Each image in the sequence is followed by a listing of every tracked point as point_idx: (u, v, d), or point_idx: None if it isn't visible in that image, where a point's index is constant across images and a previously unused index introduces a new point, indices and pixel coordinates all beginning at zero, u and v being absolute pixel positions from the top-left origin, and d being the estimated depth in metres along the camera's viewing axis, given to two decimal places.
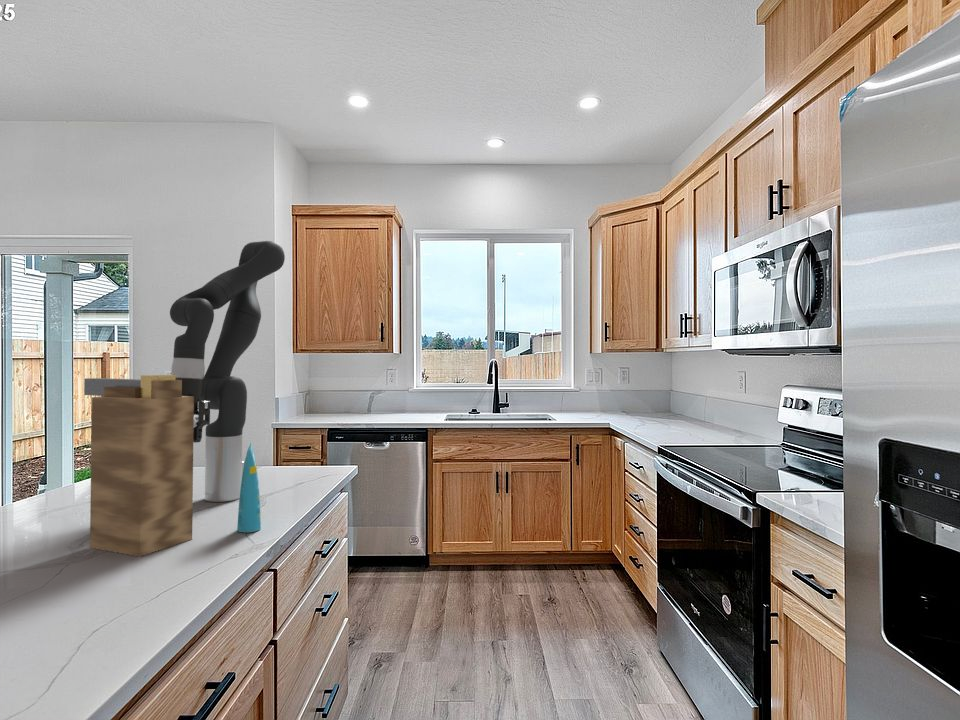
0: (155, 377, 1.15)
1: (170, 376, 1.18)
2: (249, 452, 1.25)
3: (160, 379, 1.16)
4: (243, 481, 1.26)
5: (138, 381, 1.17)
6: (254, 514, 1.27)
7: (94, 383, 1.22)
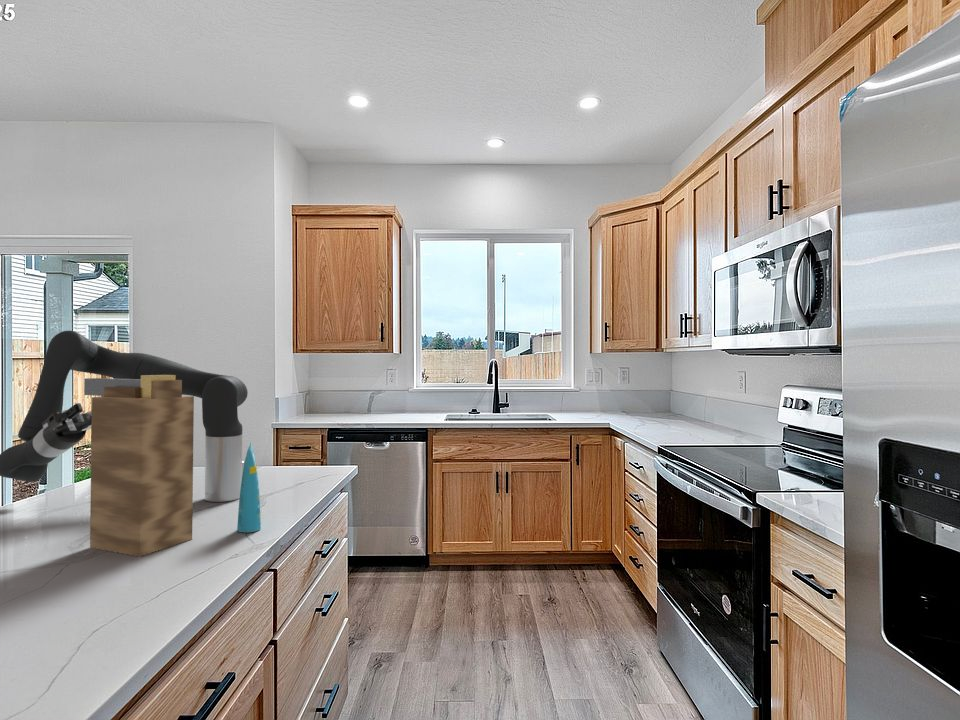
0: (155, 377, 1.15)
1: (170, 376, 1.18)
2: (249, 452, 1.25)
3: (160, 379, 1.16)
4: (243, 481, 1.26)
5: (138, 381, 1.17)
6: (254, 514, 1.27)
7: (94, 383, 1.22)
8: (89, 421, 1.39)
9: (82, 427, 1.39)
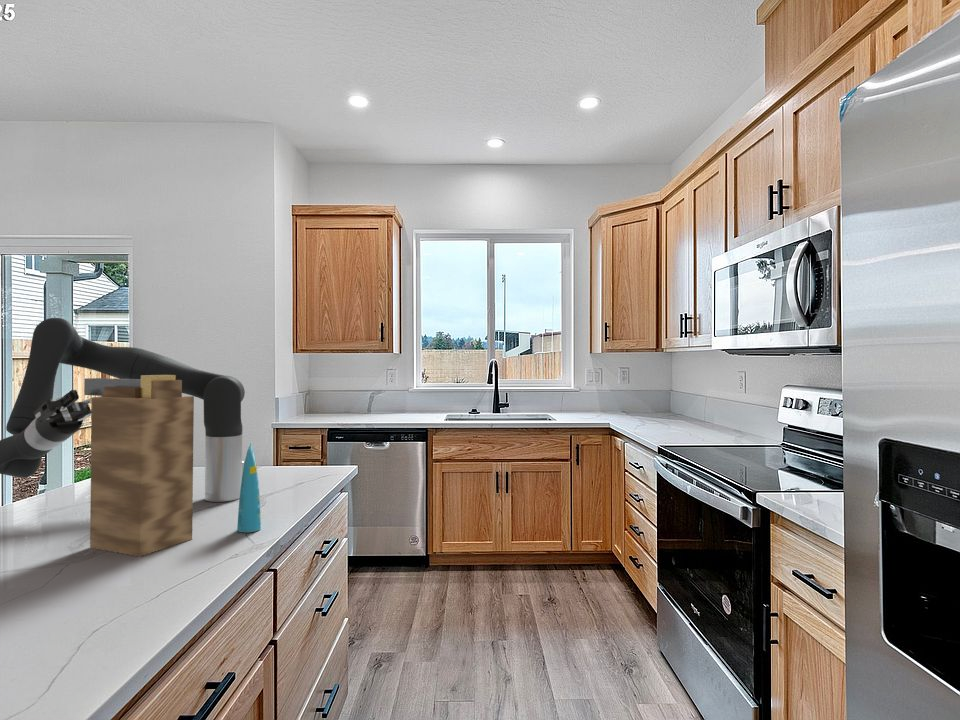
0: (155, 377, 1.15)
1: (170, 376, 1.18)
2: (249, 452, 1.25)
3: (160, 379, 1.16)
4: (243, 481, 1.26)
5: (138, 381, 1.17)
6: (254, 514, 1.27)
7: (94, 383, 1.22)
8: (86, 410, 1.27)
9: (78, 417, 1.27)
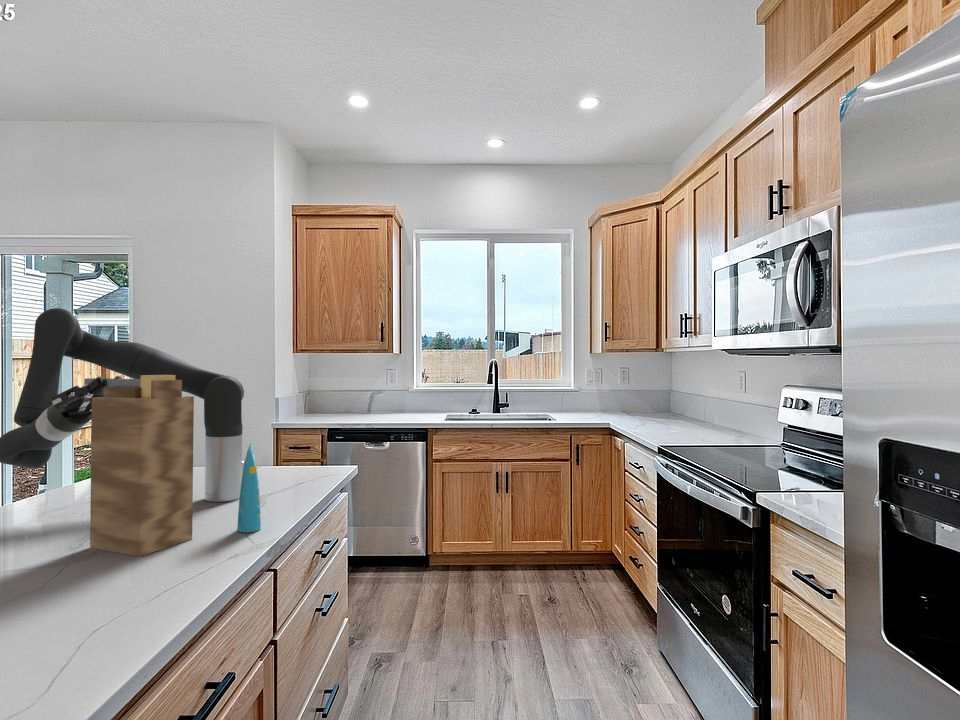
0: (155, 377, 1.15)
1: (170, 376, 1.18)
2: (249, 452, 1.25)
3: (159, 379, 1.16)
4: (243, 481, 1.26)
5: (138, 381, 1.17)
6: (254, 514, 1.27)
7: None
8: None
9: (89, 407, 1.26)
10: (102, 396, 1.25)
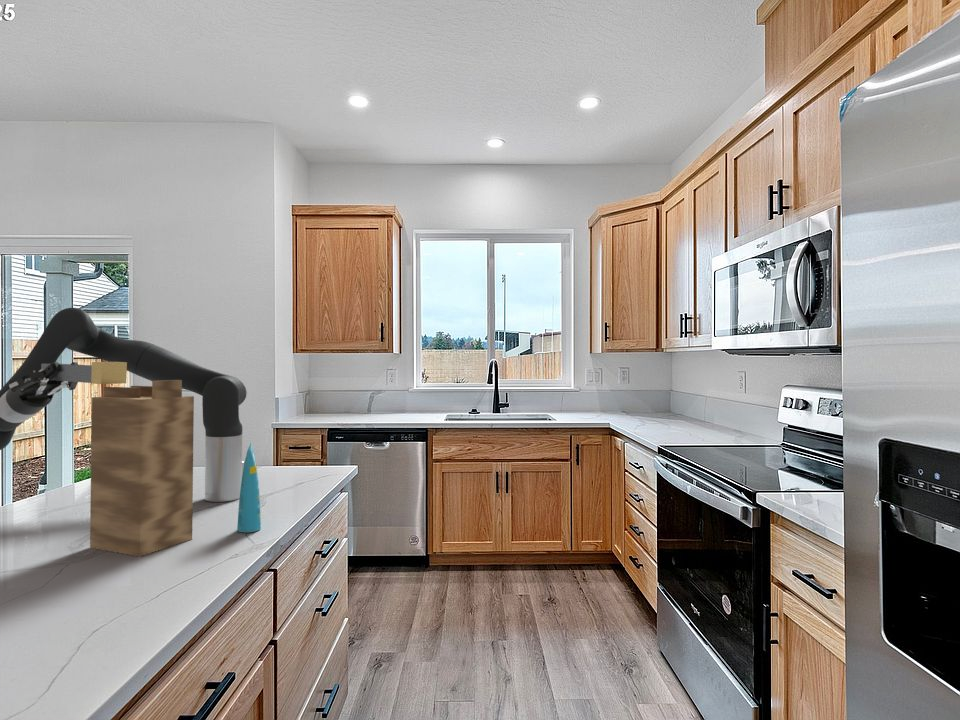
0: (105, 364, 1.20)
1: (121, 363, 1.23)
2: (249, 452, 1.25)
3: (110, 365, 1.21)
4: (243, 481, 1.26)
5: (90, 367, 1.22)
6: (254, 514, 1.27)
7: None
8: (50, 385, 1.30)
9: (47, 391, 1.31)
10: (59, 381, 1.30)
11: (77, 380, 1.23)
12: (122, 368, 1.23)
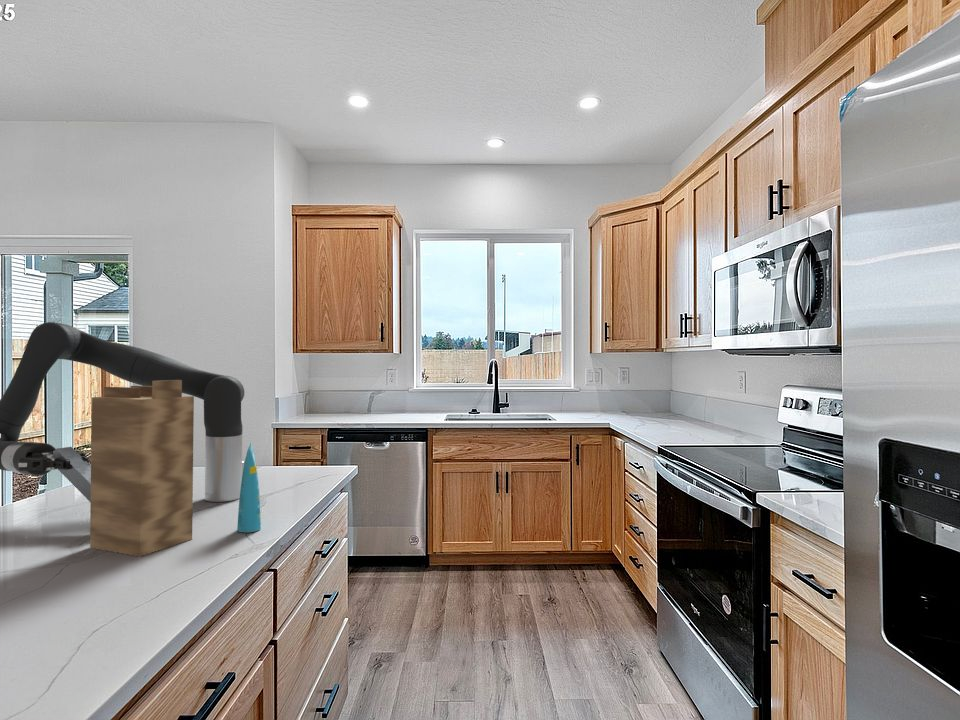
0: None
1: None
2: (249, 452, 1.25)
3: None
4: (243, 481, 1.26)
5: None
6: (254, 514, 1.27)
7: None
8: None
9: None
10: None
11: (81, 491, 1.27)
12: None
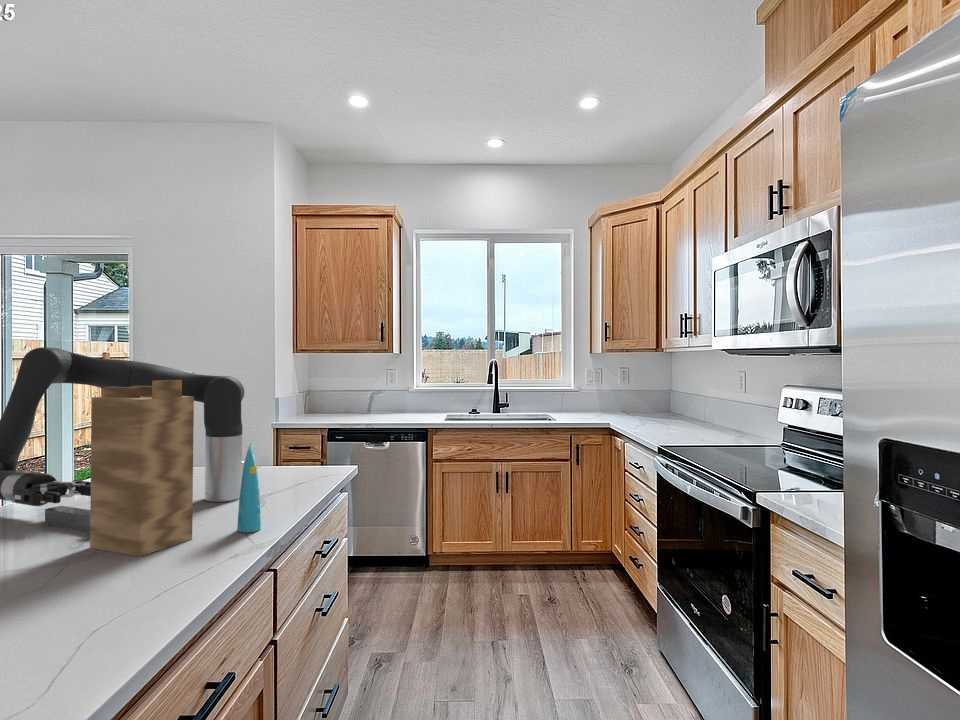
0: None
1: None
2: (249, 452, 1.25)
3: None
4: (243, 481, 1.26)
5: None
6: (254, 514, 1.27)
7: (54, 514, 1.30)
8: (61, 495, 1.34)
9: None
10: (71, 492, 1.35)
11: (80, 528, 1.27)
12: None
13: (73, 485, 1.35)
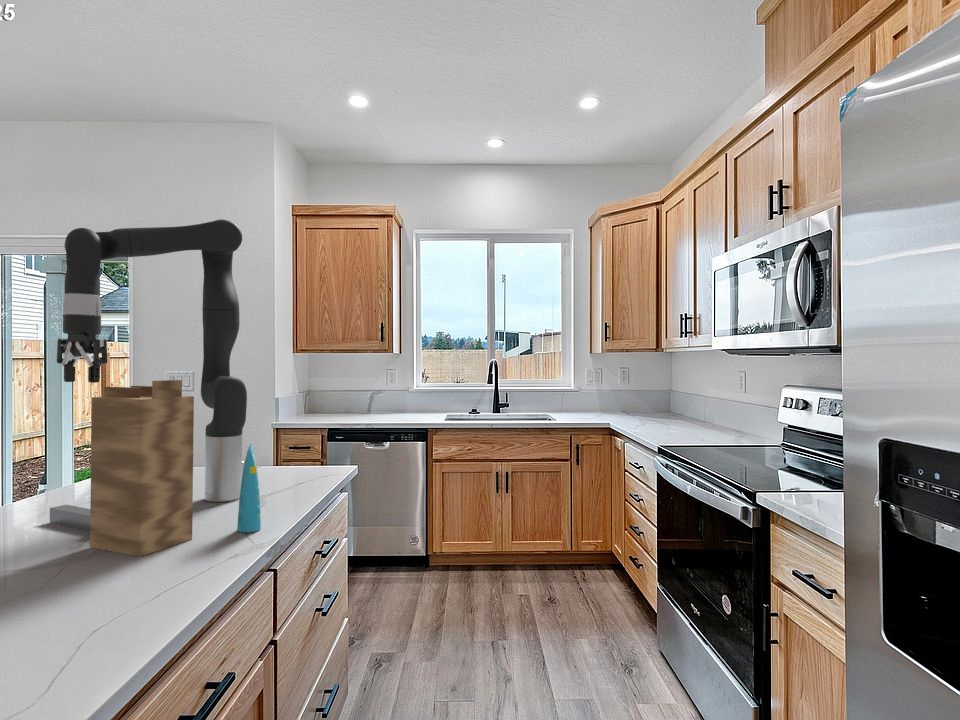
0: None
1: None
2: (249, 452, 1.25)
3: None
4: (243, 481, 1.26)
5: None
6: (254, 514, 1.27)
7: (58, 513, 1.31)
8: (73, 354, 1.37)
9: (73, 345, 1.36)
10: (70, 358, 1.38)
11: (82, 528, 1.28)
12: None
13: (76, 359, 1.40)
